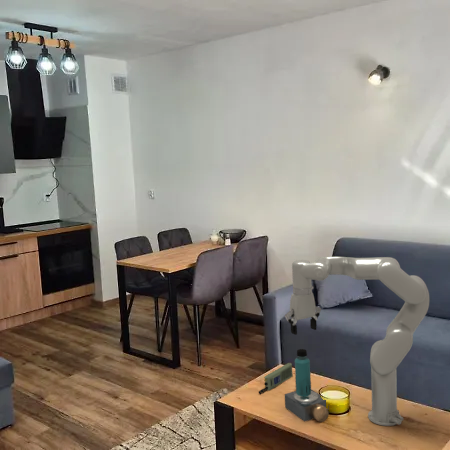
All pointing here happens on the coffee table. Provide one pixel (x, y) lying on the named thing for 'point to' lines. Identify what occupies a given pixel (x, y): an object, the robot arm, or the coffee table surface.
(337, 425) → the coffee table surface
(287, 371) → the handheld radio
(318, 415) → the motor housing
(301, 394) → the beverage bottle
